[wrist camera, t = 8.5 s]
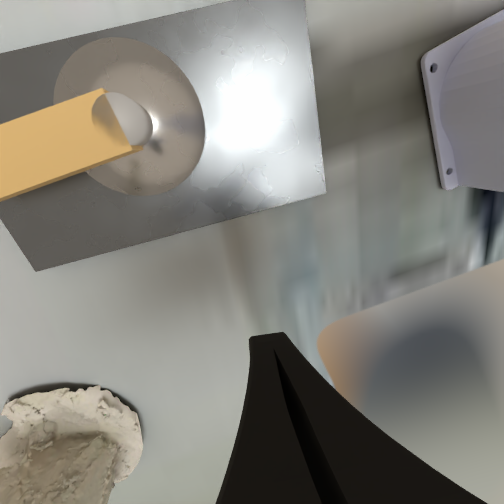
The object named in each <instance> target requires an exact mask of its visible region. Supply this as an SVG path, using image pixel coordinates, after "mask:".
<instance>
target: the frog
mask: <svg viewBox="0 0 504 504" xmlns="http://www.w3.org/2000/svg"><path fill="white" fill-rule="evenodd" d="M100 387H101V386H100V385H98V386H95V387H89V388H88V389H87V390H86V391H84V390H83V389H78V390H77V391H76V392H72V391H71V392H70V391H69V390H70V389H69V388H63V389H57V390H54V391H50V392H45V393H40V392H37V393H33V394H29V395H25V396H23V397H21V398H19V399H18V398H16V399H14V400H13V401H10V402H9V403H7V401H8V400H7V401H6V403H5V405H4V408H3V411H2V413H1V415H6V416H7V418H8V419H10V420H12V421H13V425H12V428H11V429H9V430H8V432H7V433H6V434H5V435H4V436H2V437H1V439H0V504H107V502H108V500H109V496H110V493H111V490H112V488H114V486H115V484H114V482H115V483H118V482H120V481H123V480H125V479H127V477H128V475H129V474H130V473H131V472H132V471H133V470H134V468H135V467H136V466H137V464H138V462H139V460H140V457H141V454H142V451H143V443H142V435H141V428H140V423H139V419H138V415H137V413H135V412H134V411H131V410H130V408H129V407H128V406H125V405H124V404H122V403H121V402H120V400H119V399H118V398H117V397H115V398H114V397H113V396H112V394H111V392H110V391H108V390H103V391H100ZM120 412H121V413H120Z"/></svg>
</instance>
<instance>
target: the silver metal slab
mask: <svg viewBox="0 0 504 504" xmlns="http://www.w3.org/2000/svg"><path fill="white" fill-rule="evenodd" d="M100 88H103V89H105V90H107V91H108V92H116V93H120V94H123V95H125V96H127V97H128V98H130V99H132V100H133V101H135V102H136V103H138V104H140V105H141V106H143V107H144V108H145V109H146V110H147V112H148V113H149V114H150V116H151V119H152V122H153V133H152V136H151V138H150V140H149V141H148V142H147V143H146V144H144V145H142V147H143V149H144V150H141V151H139V152H136V153H133V154H130V155H128V156H125V157H122V158H119V159H117V160H114V161H111V162H108V163H106V164H103V165H100V166H97V167H95V168H92V169H89V170H86V171H84V172H81V173H78V174H75V175H73V176H70V177H67V178H64V179H62V180H59V181H56V182H53V183H51V184H48V185H45V186H42V187H40V188H37V189H34V190H31V191H29V192H26V193H23V194H20V195H18V196H15V197H12V198H9V199H7V200H4V201H1V202H0V219H1V220H2V222H3V223H4V225H5V226H6V228H7V229H8V231H9V232H10V234H11V235H12V237H13V238H14V240H15V241H16V243H17V244H18V246H19V247H20V249H21V250H22V252H23V253H24V255H25V256H26V258H27V259H28V261H29V262H30V264H31V265H32V267H33V268H34V270H35V271H36V272H37V271H40V270H44V269H48V268H52V267H55V266H59V265H63V264H66V263H70V262H74V261H77V260H81V259H85V258H89V257H92V256H96V255H100V254H103V253H107V252H111V251H114V250H118V249H122V248H126V247H129V246H133V245H137V244H140V243H144V242H148V241H151V240H155V239H159V238H163V237H166V236H170V235H174V234H177V233H181V232H185V231H188V230H192V229H196V228H200V227H203V226H207V225H211V224H214V223H218V222H222V221H225V220H229V219H233V218H237V217H240V216H244V215H248V214H251V213H255V212H259V211H262V210H266V209H270V208H274V207H277V206H281V205H285V204H288V203H292V202H296V201H299V200H303V199H307V198H311V197H314V196H318V195H322V194H325V193H326V185H325V176H324V167H323V158H322V149H321V140H320V131H319V122H318V114H317V105H316V96H315V87H314V78H313V69H312V60H311V51H310V42H309V33H308V24H307V15H306V6H305V0H233V1H228V2H224V3H219V4H215V5H211V6H206V7H202V8H197V9H193V10H189V11H184V12H180V13H176V14H171V15H167V16H162V17H158V18H154V19H149V20H145V21H141V22H136V23H132V24H127V25H123V26H119V27H114V28H110V29H106V30H101V31H97V32H92V33H88V34H84V35H79V36H75V37H71V38H66V39H62V40H57V41H53V42H49V43H44V44H40V45H36V46H31V47H27V48H22V49H18V50H14V51H9V52H5V53H1V54H0V124H3V123H6V122H9V121H11V120H14V119H17V118H20V117H22V116H25V115H28V114H31V113H34V112H36V111H39V110H42V109H45V108H47V107H50V106H53V105H56V104H59V103H61V102H64V101H67V100H70V99H72V98H75V97H78V96H81V95H84V94H86V93H89V92H92V91H95V90H97V89H100Z"/></svg>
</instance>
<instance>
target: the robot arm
mask: <svg viewBox="0 0 504 504" xmlns="http://www.w3.org/2000/svg"><path fill="white" fill-rule="evenodd" d="M431 66H432V67H433V70H432V72H430V67H431ZM421 69H422V75H423V81H424V87H425V92H426V98H427V104H428V110H429V116H430V121H431V127H432V133H433V139H434V145H435V150H436V156H437V162H438V168H439V174H440V180H441V185H442V188H443V189H445V190H452V189H454V188H456V187H457V186H459V185H460V186H467V187H473V188H480V189H487V190H493V191H500V192H504V9H503V10H501V11H499V12H497V13H496V14H494V15H492V16H490V17H488V18H487V19H485V20H483V21H481V22H480V23H478V24H476V25H474V26H472V27H471V28H469V29H467V30H465V31H464V32H462V33H460V34H458V35H456V36H455V37H453V38H451V39H449V40H448V41H446V42H444V43H442V44H440V45H439V46H437V47H435V48H433V49H432V50H430V51H428V52H426V53H425V54H424V55H423V57H422V59H421ZM447 169H448V172H447V173H446V171H447ZM249 350H250V368H249V376H248V384H247V390H246V395H245V401H244V406H243V411H242V416H241V420H240V424H239V428H238V432H237V436H236V440H235V444H234V447H233V451H232V454H231V457H230V461H229V464H228V468H227V471H226V474H225V477H224V480H223V484H222V487H221V490H220V493H219V495H218V498H217V501H216V504H487V503H486V502H484V501H483V500H481V499H479V498H478V497H476V496H474V495H473V494H471V493H470V492H468V491H466V490H465V489H463V488H462V487H460V486H459V485H457V484H455V483H454V482H453V481H451V480H450V479H448V478H447V477H445V476H444V475H442V474H441V473H439V472H438V471H436V470H435V469H433V468H432V467H431V466H429V465H428V464H426V463H425V462H424V461H422V460H421V459H420V458H418V457H417V456H416V455H414V454H413V453H411V452H410V451H409V450H407V449H406V448H405V447H403V446H402V445H400V444H399V443H398V442H396V441H395V440H394V439H392V438H391V437H390V436H388V435H387V434H386V433H384V432H383V431H382V430H381V429H380V428H378V427H377V426H376V425H375V424H373V423H372V422H371V421H370V420H368V419H367V418H366V417H365V416H364V415H363V414H362V413H360V412H359V411H358V410H357V409H356V408H355V407H353V406H352V405H351V404H350V403H349V402H348V401H347V400H346V399H345V398H344V397H342V396H341V395H340V394H339V393H338V392H337V391H336V390H335V389H334V388H333V387H332V386H331V385H330V384H329V383H328V382H327V381H326V380H325V379H324V378H323V377H322V376H321V375H320V374H319V373H318V371H317V370H316V369H315V368H314V367H313V366H312V365H311V364H310V363H309V362H308V361H307V360H306V358H305V357H304V356H303V355H302V354H301V353H300V351H299V350H298V349H297V348H296V347H295V345H294V344H293V343H292V342H291V340H290V339H289V338H288V336H287V335H286V334H285V333H284V332H279V333H272V334H265V335H258V336H251V338H250V339H249Z"/></svg>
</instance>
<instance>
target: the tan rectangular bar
mask: <svg viewBox="0 0 504 504" xmlns="http://www.w3.org/2000/svg"><path fill="white" fill-rule="evenodd" d="M152 133H153V122H152V119H151V116H150V114H149V113H148V112H147V110H146V109H145V108H144V107H143V106H141V105H140V104H138V103H136V102H135V101H133V100H132V99H130V98H128V97H127V96H125V95H123V94H120V93H116V92H108V91H107V90H105V89H103V88H100V89H97V90H95V91H92V92H89V93H86V94H84V95H81V96H78V97H75V98H72V99H70V100H67V101H64V102H61V103H59V104H56V105H53V106H50V107H47V108H45V109H42V110H39V111H36V112H34V113H31V114H28V115H25V116H22V117H20V118H17V119H14V120H11V121H9V122H6V123H3V124H0V202H1V201H4V200H7V199H9V198H12V197H15V196H18V195H20V194H23V193H26V192H29V191H31V190H34V189H37V188H40V187H42V186H45V185H48V184H51V183H53V182H56V181H59V180H62V179H64V178H67V177H70V176H73V175H75V174H78V173H81V172H84V171H86V170H89V169H92V168H95V167H97V166H100V165H103V164H106V163H108V162H111V161H114V160H117V159H119V158H122V157H125V156H128V155H130V154H133V153H136V152H139V151H141V150H144V149H143V147H142V145H144V144H146V143H147V142H148V141H149V140H150V138H151V136H152Z"/></svg>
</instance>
